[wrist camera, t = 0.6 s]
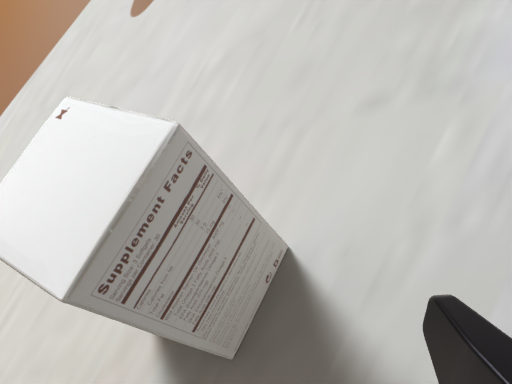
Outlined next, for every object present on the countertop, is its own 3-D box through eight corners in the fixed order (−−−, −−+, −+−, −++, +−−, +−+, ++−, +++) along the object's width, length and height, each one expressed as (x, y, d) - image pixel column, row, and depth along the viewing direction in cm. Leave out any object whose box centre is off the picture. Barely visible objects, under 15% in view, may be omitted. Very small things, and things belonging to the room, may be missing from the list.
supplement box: (145, 310, 27) (-44, 231, 17) (203, 210, 29) (65, 88, 19) (234, 366, 23) (55, 307, 13) (294, 246, 25) (180, 114, 15)
